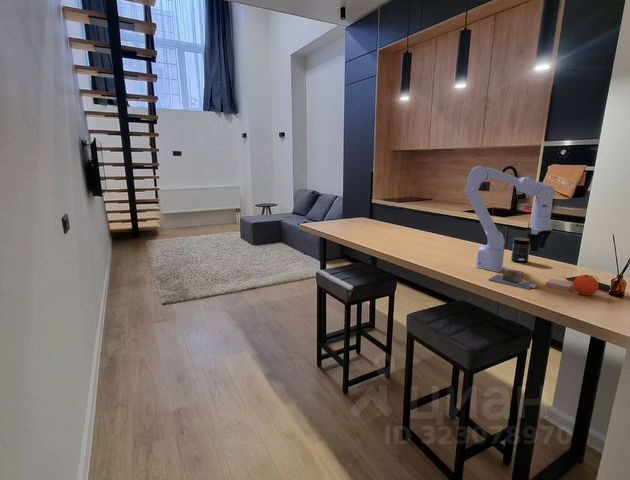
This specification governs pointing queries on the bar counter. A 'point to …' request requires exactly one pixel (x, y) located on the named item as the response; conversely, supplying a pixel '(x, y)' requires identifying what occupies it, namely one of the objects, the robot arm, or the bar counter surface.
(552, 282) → the tile
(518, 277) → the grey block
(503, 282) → the mat
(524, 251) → the supplement container
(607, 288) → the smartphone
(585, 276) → the clementine
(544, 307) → the bar counter surface
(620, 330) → the bar counter surface
